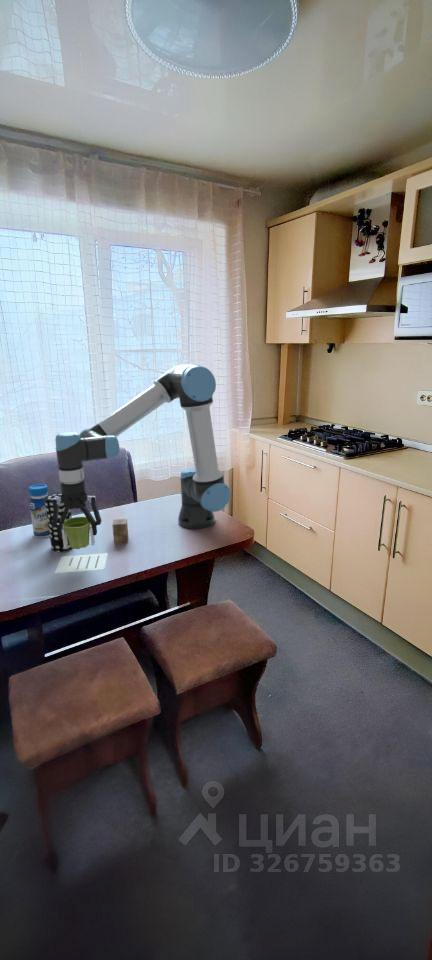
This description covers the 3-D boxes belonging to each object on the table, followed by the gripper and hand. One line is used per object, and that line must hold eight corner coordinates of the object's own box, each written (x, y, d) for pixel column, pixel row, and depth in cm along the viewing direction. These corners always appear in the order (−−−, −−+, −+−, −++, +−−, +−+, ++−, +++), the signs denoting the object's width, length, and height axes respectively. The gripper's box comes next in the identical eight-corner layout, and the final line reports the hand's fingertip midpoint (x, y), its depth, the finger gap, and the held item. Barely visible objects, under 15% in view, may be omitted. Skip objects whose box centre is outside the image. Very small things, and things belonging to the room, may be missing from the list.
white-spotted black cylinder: (47, 551, 158) (39, 500, 152) (58, 542, 166) (51, 492, 160) (69, 553, 157) (62, 500, 151) (79, 543, 165) (72, 493, 159)
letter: (107, 553, 156) (107, 553, 156) (104, 569, 145) (104, 569, 145) (61, 557, 154) (61, 556, 154) (54, 573, 143) (54, 573, 143)
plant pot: (85, 552, 142) (83, 528, 139) (59, 550, 144) (56, 526, 141) (98, 540, 151) (96, 517, 148) (73, 538, 153) (71, 515, 150)
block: (128, 537, 169) (126, 518, 166) (127, 543, 164) (126, 523, 162) (115, 538, 168) (113, 519, 166) (114, 544, 163) (112, 524, 161)
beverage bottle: (52, 528, 179) (46, 481, 173) (58, 534, 173) (52, 487, 167) (31, 533, 175) (23, 485, 169) (36, 540, 168) (28, 491, 162)
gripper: (106, 475, 145) (112, 538, 152) (41, 479, 143) (49, 542, 150) (104, 482, 138) (110, 547, 145) (35, 485, 136) (44, 551, 142)
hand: (79, 544), depth 147 cm, fingers closed on plant pot, 8 cm apart
